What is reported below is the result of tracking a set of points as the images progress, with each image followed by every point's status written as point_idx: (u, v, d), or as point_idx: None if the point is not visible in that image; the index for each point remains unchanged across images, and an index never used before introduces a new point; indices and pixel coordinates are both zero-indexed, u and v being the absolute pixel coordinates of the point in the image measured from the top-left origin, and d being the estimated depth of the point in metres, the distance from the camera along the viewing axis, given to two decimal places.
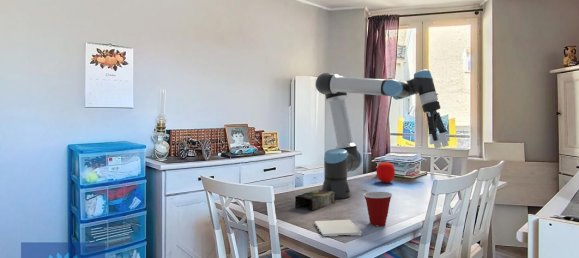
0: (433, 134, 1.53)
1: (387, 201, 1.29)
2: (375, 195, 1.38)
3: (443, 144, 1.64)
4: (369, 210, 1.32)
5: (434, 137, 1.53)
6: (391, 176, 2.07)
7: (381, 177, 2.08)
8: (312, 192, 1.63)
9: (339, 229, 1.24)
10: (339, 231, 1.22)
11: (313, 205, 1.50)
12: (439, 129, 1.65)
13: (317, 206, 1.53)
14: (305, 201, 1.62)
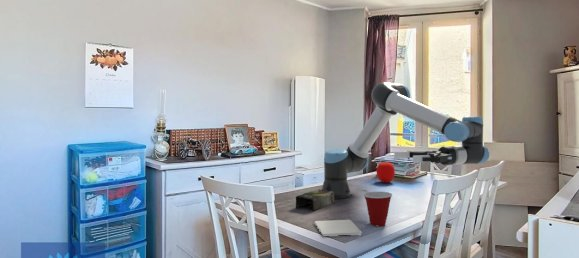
0: (431, 159, 1.28)
1: (387, 201, 1.29)
2: (375, 195, 1.38)
3: (397, 153, 1.41)
4: (369, 210, 1.32)
5: (427, 159, 1.28)
6: (391, 176, 2.07)
7: (381, 177, 2.08)
8: (312, 192, 1.63)
9: (339, 229, 1.24)
10: (339, 231, 1.22)
11: (314, 205, 1.50)
12: (414, 153, 1.42)
13: (318, 206, 1.53)
14: (305, 201, 1.61)
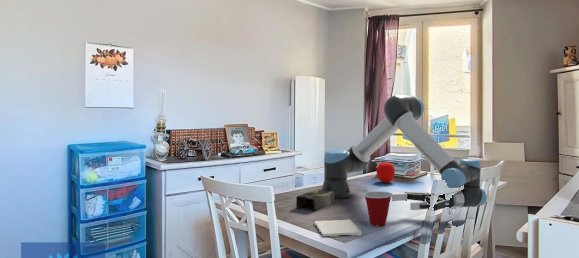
0: (428, 206, 1.28)
1: (387, 201, 1.29)
2: (375, 195, 1.38)
3: (395, 196, 1.42)
4: (369, 210, 1.32)
5: (425, 206, 1.28)
6: (391, 176, 2.07)
7: (381, 177, 2.08)
8: (312, 192, 1.62)
9: (339, 229, 1.24)
10: (339, 231, 1.22)
11: (315, 205, 1.50)
12: (411, 195, 1.43)
13: (318, 206, 1.53)
14: (305, 201, 1.61)
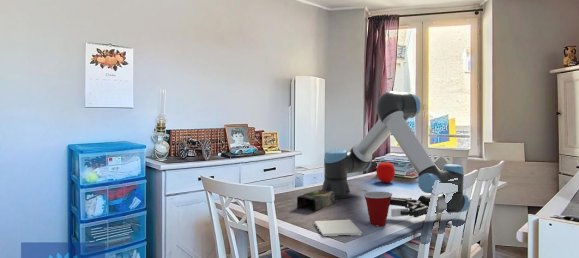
0: (409, 212, 1.26)
1: (387, 201, 1.29)
2: (375, 195, 1.38)
3: None
4: (369, 210, 1.32)
5: (405, 213, 1.26)
6: (391, 176, 2.07)
7: (381, 177, 2.08)
8: (312, 192, 1.62)
9: (339, 229, 1.24)
10: (339, 231, 1.22)
11: (316, 205, 1.50)
12: (394, 201, 1.41)
13: (319, 206, 1.52)
14: (305, 202, 1.61)
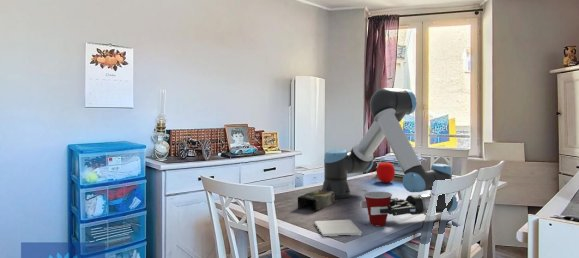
0: (388, 211, 1.28)
1: (387, 201, 1.29)
2: (375, 195, 1.37)
3: (363, 203, 1.37)
4: (369, 210, 1.32)
5: (385, 211, 1.28)
6: (391, 176, 2.07)
7: (381, 177, 2.08)
8: (313, 192, 1.62)
9: (339, 229, 1.24)
10: (339, 231, 1.22)
11: (316, 206, 1.50)
12: None
13: (320, 206, 1.52)
14: (306, 202, 1.61)
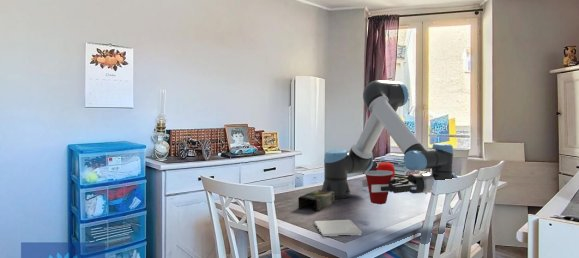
0: (389, 188, 1.27)
1: (388, 179, 1.29)
2: (376, 174, 1.37)
3: (364, 181, 1.36)
4: (370, 188, 1.31)
5: (385, 188, 1.27)
6: None
7: None
8: (313, 192, 1.62)
9: (339, 229, 1.24)
10: (339, 231, 1.22)
11: (317, 206, 1.49)
12: None
13: (321, 206, 1.52)
14: (306, 202, 1.60)
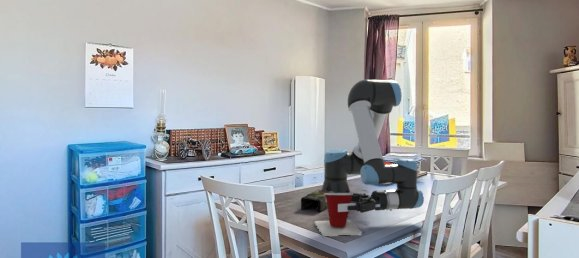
0: (356, 207, 1.23)
1: (347, 199, 1.24)
2: None
3: None
4: (329, 209, 1.26)
5: (352, 208, 1.23)
6: None
7: None
8: (314, 193, 1.61)
9: (339, 229, 1.24)
10: (339, 231, 1.22)
11: (321, 206, 1.49)
12: None
13: (323, 207, 1.52)
14: (307, 203, 1.59)
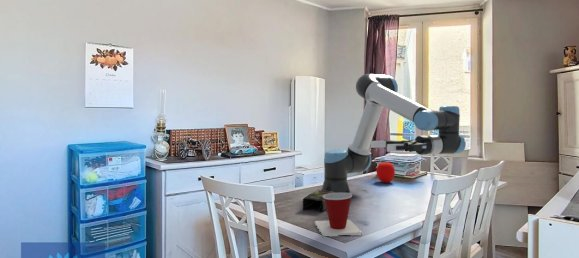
0: (404, 147, 1.27)
1: (346, 203, 1.23)
2: (336, 196, 1.31)
3: (373, 142, 1.40)
4: (328, 212, 1.25)
5: (401, 147, 1.27)
6: (391, 176, 2.07)
7: (381, 177, 2.08)
8: (314, 193, 1.61)
9: (339, 229, 1.24)
10: (339, 231, 1.22)
11: (323, 206, 1.49)
12: (390, 142, 1.42)
13: (325, 207, 1.52)
14: (308, 203, 1.59)
